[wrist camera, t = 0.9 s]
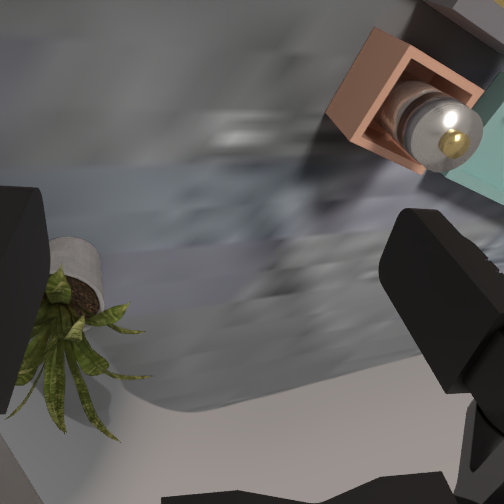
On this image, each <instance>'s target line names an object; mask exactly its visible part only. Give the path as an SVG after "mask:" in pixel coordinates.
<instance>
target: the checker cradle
mask: <svg viewBox="0 0 504 504" xmlns="http://www.w3.org/2000/svg"><path fill="white" fill-rule="evenodd" d="M422 1H423V2H425V3H426V4H428V5H429V6H431V7H432V8H434V9H435V10H437V11H438V12H440V13H441V14H442V15H444V16H445V17H447V18H448V19H450V20H451V21H453V22H454V23H456V24H457V25H459V26H460V27H462V28H463V29H464V30H466V31H467V32H469V33H470V34H472V35H473V36H475V37H476V38H478V39H479V40H481V41H482V42H484V43H485V44H486V45H488V46H489V47H491V48H492V49H494V50H495V51H497V52H498V53H500V54H501V55H504V8H503V7H501V6H500V5H499V4H497V3H496V2H495V1H493V0H422Z"/></svg>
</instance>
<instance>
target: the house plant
mask: <svg viewBox="0 0 504 504" xmlns="http://www.w3.org/2000/svg"><path fill="white" fill-rule="evenodd" d="M49 246H50V257H51V263H50V274H49V279H48V282H47V285H46V289H45V292H44V295H43V298H42V301H41V304H40V307H39V311H38V314H37V317H36V320H35V323H34V326H33V329H32V333H31V336H30V339H31V338H33V337H34V336H35V335H36V334H37V335H36V336H35V338H34V339H33V340H32V341H31V342H30V343H29V345H28V346H27V348H26V352H25V355H24V358H23V361H22V364H21V367H20V370H19V374H18V377H17V380H16V383H15V385H24V384H26V383H28V382H29V381H30V380H32V378H33V376H34V375H35V373H36V370H37V368H38V365H40V364H42V363H43V362H44V361H45V363H44V365H45V366H44V365H43V367H44V396H45V401H46V405H47V408H48V411H49V414H50V416H51V418H52V420H53V421H54V422H55V424H56V425H57V427H58V428H59V429H60V430H62V431H63V432H64V434H65V432H66V428H65V424H64V394H65V370H64V350H65V354H66V358H67V362H68V365H69V368H70V371H71V373H72V376H73V378H74V381H75V384H76V387H77V391H78V394H79V397H80V400H81V403H82V406H83V408H84V411H85V413H86V415H87V417H88V419H89V421H90V422H91V423H92V424H93V425H94V426H95V427H96V428H97V429H99V430H100V431H101V432H103V433H104V434H105V435H107V436H108V437H110V438H112V439H114V440H117V441H119V440H118V439H117V438H116V437H114V435H112V434H111V433H110V432H109V431H108V430H107V428H106V427H105V426H104V425H103V423H102V422H101V420H100V419H99V418H98V416H97V414H96V412H95V410H94V408H93V405H92V402H91V399H90V396H89V393H88V390H87V387H86V385H85V383H84V380H83V378H82V376H81V374H80V371H79V368H78V365H77V362H78V364H79V366H80V367H81V369H82V371H83V372H84V373H85V374H86V375H90V376H95V375H99V374H102V373H105V374H107V375H109V376H111V377H113V378H116V379H121V380H135V379H144V378H147V377H151V376H126V375H119V374H114V373H111V372H109V371H108V370H107V368H108V367H109V363H108V362H107V361H106V360H105V359H104V358H103V357H101V356H100V355H99V354H97V353H96V352H95V351H94V350H93V349H92V348H91V346H90V345H89V343H88V341H87V340H86V337H85V335H84V333H83V332H85V331H87V330H88V329H90V328H92V327H93V326H105V325H107V326H109V327H110V328H112V329H113V330H115V331H117V332H119V333H123V334H139V333H142V332H145V331H136V330H128V329H124V328H121V327H118V326H116V325H114V324H113V323H115V322H117V321H119V320H120V319H121V318H122V316H123V315H124V313H125V311H126V309H127V307H128V305H129V304H130V302H131V301H130V302H129V303H128V304H124V305H118V306H114V307H112V308H109V309H107V310H105V311H104V293H103V282H102V270H101V260H100V256H99V253H98V251H97V250H96V248H95V247H93V246H92V245H91V244H90V243H88V242H87V241H85V240H83V239H80V238H77V237H69V236H68V237H59V238H56V239H53V240H51V241H50V242H49ZM49 335H50V336H49ZM48 338H49V340H48ZM30 339H29V340H30ZM47 341H48V344H47ZM46 344H47V346H46ZM45 347H46V348H45ZM76 361H77V362H76ZM42 370H43V368H42ZM42 370H41V372H40V373H39V375H38V377H37V379H36V380H35V382H34V384H33V386H32V388H31V390H30V392H29V393H28V395H27V397H26V398H25V400H24V401H23V402H22V403H21V405H20V406H19V407H18V408H17V409H16V410H15V411H14V412H13V413H12V414H11V415H10V416H9V417H11V416H12V415H14V414H15V413H16V412H17V411H18V410H20V408H21V407H22V406H23V405H24V404H25V402H26V401H27V399H28V398H29V396H30V394H31V392H32V391H33V389H34V387H35V385H36V383H37V381H38V379H39V377H40V375H41V373H42ZM9 417H8V418H9ZM6 419H7V418H6Z"/></svg>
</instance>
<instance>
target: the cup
mask: <svg viewBox="0 0 504 504" xmlns="http://www.w3.org/2000/svg"><path fill="white" fill-rule="evenodd" d="M404 69H405V70H406V71H408V72H410V73H411V74H413V75H415V76H416V77H418V78H420V79H421V80H423V81H425V82H426V83H428V84H430V85H431V86H433V87H435V88H437V89H438V90H440V91H442V92H443V93H446V94H448V95H450V96H452V97H453V98H455V99H457V100H458V101H460V102H462V103H463V104H465V105H467V106H468V107H469V108H470V109H471V108H472V107H473V106H474V104H475V103H476V102H477V100H478V99H479V98H480V96H481V95H482V94H483V92H484V91H485V90H483V89H481V88H480V87H478V86H476V85H475V84H473V83H472V82H470V81H468V80H467V79H465V78H464V77H462V76H460V75H459V74H457V73H455V72H454V71H452V70H451V69H449V68H447V67H446V66H444V65H443V64H441V63H439V62H438V61H436V60H435V59H433V58H431V57H430V56H428V55H426V54H425V53H423V52H422V51H420V50H418V49H417V48H415V47H414V46H412V45H410V44H408V43H406V42H404V41H402V40H400V39H398V38H396V37H394V36H392V35H390V34H388V33H386V32H384V31H382V30H380V29H378V28H375V27H374V29H373V30H372V32H371V34H370V36H369V37H368V39H367V41H366V42H365V44H364V46H363V48H362V49H361V51H360V53H359V55H358V56H357V58H356V60H355V61H354V63H353V65H352V67H351V68H350V70H349V72H348V74H347V75H346V77H345V79H344V81H343V82H342V84H341V86H340V87H339V89H338V91H337V93H336V94H335V96H334V98H333V100H332V101H331V103H330V105H329V106H328V108H327V110H326V112H325V113H326V114H327V115H328V117H329V118H330V119H331V120H332V121H333V122H334V124H335V125H336V126H337V127H338V128H339V129H340V130H341V132H342V133H343V134H344V135H345V136H346V137H347V139H348V140H349V141H350V142H353V143H355V144H357V145H359V146H361V147H363V148H365V149H367V150H370V151H372V152H374V153H376V154H378V155H380V156H382V157H384V158H387V159H389V160H391V161H393V162H395V163H397V164H399V165H401V166H404V167H406V168H408V169H410V170H412V171H414V172H416V173H418V174H421V175H422V173H423V172H424V171H425V169H426V168H425V167H424V166H423V165H422V164H420V163H419V162H417V161H416V160H415V159H414V158H413V157H412V156H411V155H410V154H409V153H408V152H407V151H405V150H404V149H403V148H402V147H401V145H400V144H399V143H398V142H397V141H396V140H395V139H394V138H393V137H391V136H390V135H389V134H388V133H387V132H386V131H385V130H384V129H383V128H382V127H381V126H380V125H378V124H377V123H376V122H375V121H374V120H373V117H374V116H375V114H376V113H377V111H378V110H379V108H380V106H381V105H382V103H383V102H384V100H385V99H386V97H387V96H388V94H389V92H390V91H391V89H392V88H393V86H394V85H395V83H396V81H397V80H398V78H399V77H400V75H401V74H402V72H403V71H404Z"/></svg>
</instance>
